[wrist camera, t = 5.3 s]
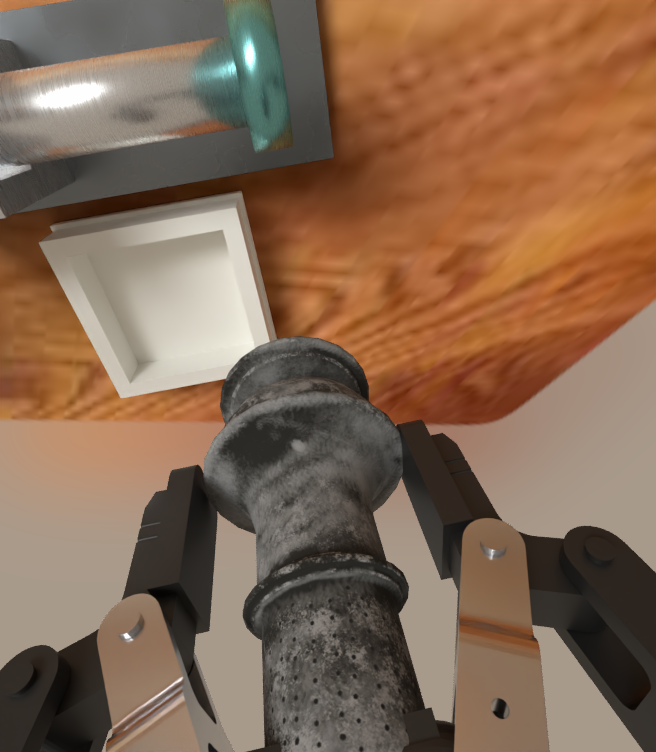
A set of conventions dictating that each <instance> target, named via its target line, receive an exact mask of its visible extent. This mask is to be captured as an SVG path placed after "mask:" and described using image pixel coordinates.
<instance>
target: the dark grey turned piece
mask: <svg viewBox="0 0 656 752" xmlns="http://www.w3.org/2000/svg"><path fill="white" fill-rule="evenodd" d="M220 407H221V411H222V415H223V419H224V422H225V427H224V428H223V430H222V431H221V432H220V433H219V434H218V435H217V436H216V437H215V438H214V440H213V442H212V444H211V446H210V449H209V451H208V453H207V455H206V457H205V461H204V473H203V484H204V487H205V490H206V493H207V496H208V499H209V501H210V502H211V503H212V505H213V506H214V507H215V508H216V510H217V511H218V512H219V514H220V515H221V516H223V517H224V518H226V519H227V520H228V521H230V522H231V523H233V524H234V525H236V526H237V527H238V528H241V529H244V530H246V531H249V532H251V533H254V534H256V549H257V550H256V551H257V552H256V554H257V585H256V586H255V587H254V588H253V589H252V591H251V592H250V594H249V595H248V597H247V598H246V600H245V604H244V609H243V619H244V622H245V625H246V627H247V629H249V631H250V632H251V633H252V634H253V635H254V636H256V637H257V638H258V639H260V640H262V659H263V695H264V732H265V733H264V735H265V747H269V746H273V745H277V744H281V752H402V750H403V748H404V747H405V746H409V737H408V733H407V729H406V725H405V721H404V717H403V714H406V713H410V712H414V711H419V710H423V709H425V706H424V702H423V699H422V696H421V692H420V688H419V685H418V682H417V678H416V674H415V671H414V668H413V664H412V660H411V657H410V654H409V650H408V646H407V643H406V639H405V636H404V632H403V629H402V625H401V622H400V618H399V615H398V614H399V612H400V611H401V610H402V608H403V606H404V604H405V603H406V601H407V599H408V591H409V586H408V583H407V581H406V578H405V576H404V574H403V572H402V571H401V570H399V569H398V568H397V567H396V566H395V565H394V564H392V563H390V562H388V561H386V558H385V554H384V551H383V547H382V544H381V540H380V537H379V534H378V530H377V527H376V523H375V520H374V516H373V512H374V511H376V510H377V509H378V508H379V507H380V506H382V505H383V504H384V503H385V502H386V500H387V499H388V498H389V496H390V495H391V494H392V493H393V491H394V490H395V489H396V487H397V485H398V483H399V480H400V478H401V476H402V473H403V461H402V443H401V434H400V431H399V430H398V428H397V427H396V426H395V425H394V423H393V422H392V421H391V419H390V418H389V417H388V415H387V414H385V413H384V412H382V411H381V410H379V409H378V408H376V407H375V406H373V405H372V404H371V403H370V402H369V386H368V383H367V380H366V377H365V374H364V371H363V369H362V367H361V366H360V365H359V363H358V362H357V361H356V359H355V358H354V357H353V356H352V355H351V354H349V353H348V352H347V351H345V350H344V349H343V348H341V347H340V346H338V345H336V344H333V343H330V342H328V341H325V340H322V339H319V338H310V337H301V336H297V337H289V338H281V339H276V340H274V341H271V342H268V343H265V344H263V345H260V346H258V347H256V348H255V349H253V350H252V351H250V352H249V353H247V354H246V355H244V356H243V357H241V358H240V360H239V361H238V362H237V363H236V364H235V365H234V367H233V368H232V369H231V370H230V371H229V373H228V375H227V377H226V380H225V382H224V384H223V386H222V392H221V403H220Z"/></svg>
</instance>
